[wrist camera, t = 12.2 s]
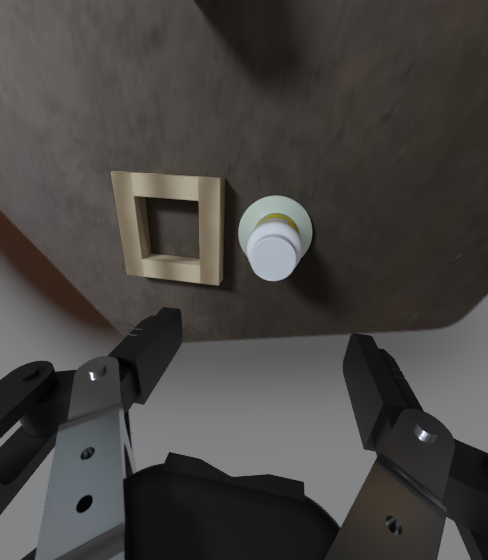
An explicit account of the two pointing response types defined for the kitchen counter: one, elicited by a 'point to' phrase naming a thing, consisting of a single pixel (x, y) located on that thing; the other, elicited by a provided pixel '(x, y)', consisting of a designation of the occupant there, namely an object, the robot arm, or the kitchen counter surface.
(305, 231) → the pale green pebble
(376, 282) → the kitchen counter surface
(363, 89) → the kitchen counter surface
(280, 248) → the supplement bottle
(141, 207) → the pocket block
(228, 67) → the kitchen counter surface
